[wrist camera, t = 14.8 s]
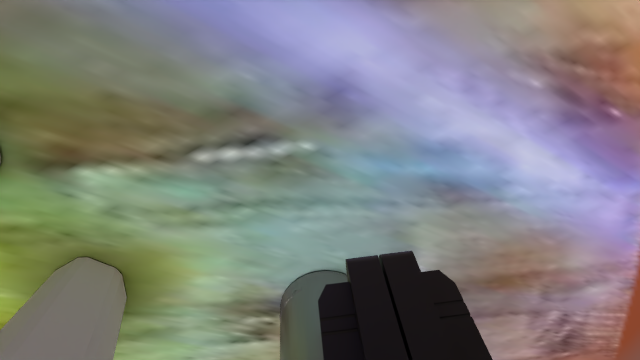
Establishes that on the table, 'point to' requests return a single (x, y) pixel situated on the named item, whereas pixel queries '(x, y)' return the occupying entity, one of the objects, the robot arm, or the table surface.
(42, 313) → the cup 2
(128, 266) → the table surface
